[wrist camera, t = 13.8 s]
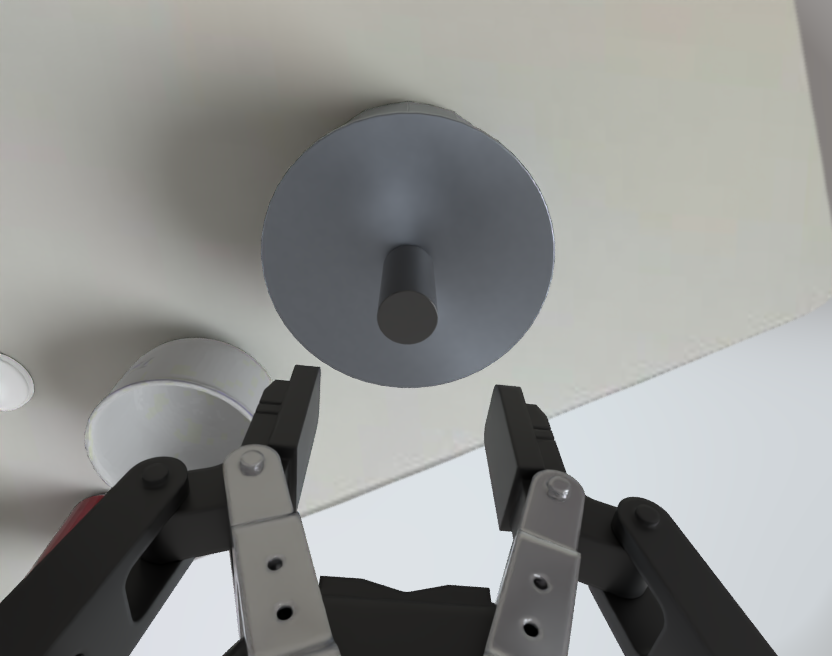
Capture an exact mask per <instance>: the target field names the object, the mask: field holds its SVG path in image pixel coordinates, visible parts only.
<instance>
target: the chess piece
mask: <svg viewBox="0 0 832 656" xmlns="http://www.w3.org/2000/svg"><path fill="white" fill-rule="evenodd" d="M33 393H34V383H33V380H32V378H31V376H30V374H29V373H28V372H27V370H26V369H25V368H24V367H23V366H22V365H21V364H19V363H18V362H17V361H15V360H14V359H12V358H10V357H8V356H6V355H3V354H0V411H10V410H15V409H17V408H19V407H21V406H22V405H24V404H25V403H27V402H28V401H29V400H30V399H31V398H32V396H33Z"/></svg>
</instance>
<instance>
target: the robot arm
mask: <svg viewBox="0 0 832 656" xmlns="http://www.w3.org/2000/svg"><path fill="white" fill-rule="evenodd" d="M320 376H321V369H320V367H313V366H303V365H295V367H294V370H293V373H292V376H291V378H290V381H284V380H275V381H274V382H272V383H271V384H270V385H269V386H268V387H267V388H265V389H264V391H263V394H262V396H261V399H260V401H259V403H258V406H257V408H256V411H255V413H254V415H253V418H252V420H251V423H250V425H249V428H248V430H247V432H246V435H245V437H244V440H243V442H242V444H241V447H239V448H237V449H235V450H233V451H232V452H230V453H229V454H228V455H227V457H226V458H225V460H224V462H223V463H221V464H219V465H216V466H213V467H208V468H201V469H195V470H188V471H187V467H186V465H185V464H184V463H183V462H182V461H181V460H179V459H177V458H174V457H167V456H161V457H154V458H150V459H147V460H144V461H142V462H140V463H138V464H136V465H135V466H133V467H132V468H131V469H130V470H129V471H128V472H127V473H126V474H125V475H124V476H123V477H122V478H121V479H120V480H119V481H118V482H117V483H116V484H115V485H114V486H113V487H112V488H111V489H110V490H109V491H108V492H107V494H106V495H105V496H104V497H103V498H102V499H101V500H100V501H99V502H98V503H97V504H96V505H95V506H94V507H93V508H92V509H91V510H90V511H89V512H88V513H87V514H86V515H85V516H84V517H83V518H82V519H81V520H80V521H79V522H78V523H77V524H76V526H75V527H74V528H73V529H72V530H71V531H70V532H69V533H68V534H67V535H66V536H65V537H64V538H63V539H62V540H61V541H60V542H59V543H58V544H57V545H56V546H55V547H54V548H53V549H52V550H51V551H50V552H49V553H48V554H47V555H46V556H45V557H44V559H43V560H42V561H41V562H40V563H39V564H38V565H37V566H36V567H35V568H34V569H33V570H32V571H31V572H30V573H29V574H28V575H27V576H26V577H25V578H24V579H23V580H22V581H21V582H20V583H19V584H18V585H17V586H16V587H15V588H14V589H13V590H12V592H11V593H10V594H9V595H8V596H7V597H6V598H5V599H4V600H3V601H2V602H1V603H0V656H129V655H130V654H131V652H132V651H133V649H134V648H135V646H136V645H137V643H138V642H139V640H140V639H141V637H142V636H143V634H144V633H145V631H146V630H147V628H148V627H149V625H150V624H151V622H152V621H153V619H154V618H155V616H156V615H157V614H158V612H159V611H160V609H161V608H162V606H163V605H164V603H165V602H166V600H167V599H168V597H169V596H170V594H171V593H172V591H173V590H174V588H175V587H176V585H177V584H178V582H179V581H180V579H181V578H182V576H183V575H184V573H185V572H186V570H187V569H188V567H189V566H190V565H191V563H192V562H193V560H194V558H195V557H199V556H204V555H209V554H214V553H218V552H223V551H227V550H229V553H230V560H231V569H232V577H233V585H234V594H235V602H236V611H237V622H238V631H239V640H238V641H237V643H235V644H234V645H233V646H232V647H231V648H230V649H229V650H228V651H227V652H226V653H225V654H224V655H223V656H568V648H569V641H570V633H571V627H572V619H573V612H574V605H575V597H576V590H577V583H578V581H579V582H582V583H584V584H587V585H588V586H589V589H590V591H591V593H592V595H593V596H594V599H595V601H596V602H597V604H598V606H599V608H600V610H601V612H602V614H603V616H604V617H605V619H606V621H607V623H608V625H609V627H610V629H611V631H612V632H613V634H614V636H615V638H616V640H617V642H618V644H619V646H620V647H621V649H622V651H623V653H624V655H625V656H777V654H776V653H775V652H774V650H773V649H772V648H771V647H770V645H769V644H768V643H767V641H766V640H765V639H764V637H763V636H762V635H761V634H760V632H759V631H758V630H757V628H756V627H755V626H754V624H753V623H752V622H751V621H750V619H749V618H748V617H747V615H745V613H744V611H743V610H742V609H741V608H740V606H739V605H738V604H737V602H736V601H735V600H734V599H733V597H732V596H731V595H730V593H729V592H728V591H727V589H726V588H725V587H724V586H723V584H722V583H721V582H720V580H719V579H718V578H717V576H716V575H715V574H714V573H713V571H712V570H711V569H710V567H709V566H708V565H707V563H706V562H705V561H704V560H703V558H702V557H701V556H700V554H699V553H698V552H697V550H696V549H695V548H694V547H693V545H692V544H691V543H690V542H689V540H688V539H687V537H686V536H685V535H684V534H683V532H682V531H681V530H680V528H679V527H678V526H677V525H676V523H675V522H674V521H673V519H672V518H671V517H670V515H669V514H668V513H667V512H666V511H665V510H664V509H663V508H661V507H660V506H658V505H657V504H655V503H654V502H651V501H649V500H647V499H644V498H640V497H628V498H625V499H623V500H622V501H621V502H620V503H619V505H618V507H614V506H611V505H608V504H605V503H602V502H599V501H597V500H594V499H591V498H590V497H587V496H586V495H585V493H584V490H583V488H582V486H581V485H580V484H579V482H577V480H575V479H574V478H573V477H571V476H570V475H568V474H567V473H566V470H565V468H564V465H563V462H562V459H561V456H560V453H559V451H558V447H557V445H556V442H555V441H554V436H553V433H552V431H551V428H550V425H549V422H548V419H547V416H546V415H545V414H544V413H543V412H542V411H541V410H540V408H539V407H538V406H537V405H534V404H526V403H525V399H524V396H523V393H522V390H521V388H520V387H516V386H506V385H495V387H494V390H493V394H492V398H491V402H490V407H489V411H488V415H487V419H486V424H485V431H484V444H485V450H486V455H487V461H488V467H489V472H490V479H491V484H492V489H493V496H494V501H495V507H496V513H497V519H498V524H499V530H500V531H511V532H512V534H513V543H512V546H511V549H510V553H509V556H508V560H507V563H506V567H505V570H504V574H503V577H502V581H501V584H500V588H499V591H498V595H497V598H496V602H495V603H492V602H491V597H490V589H489V588H484V587H470V586H456V585H446V586H440V587H435V588H429V589H423V590H417V591H411V592H403V591H399V590H396V589H393V588H390V587H387V586H384V585H380V584H377V583H374V582H371V581H368V580H365V579H359V578H345V577H330V576H320V582H319V585H318V581H317V578H316V573H315V570H314V566H313V562H312V559H311V555H310V551H309V547H308V543H307V540H306V536H305V532H304V528H303V525H302V521H301V517H300V515H299V513H298V512H297V508H298V504H299V500H300V496H301V491H302V487H303V483H304V479H305V475H306V471H307V466H308V462H309V458H310V454H311V450H312V446H313V442H314V437H315V433H316V429H317V424H318V416H319V401H320Z"/></svg>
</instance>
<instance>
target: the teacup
mask: <svg viewBox="0 0 832 656" xmlns="http://www.w3.org/2000/svg"><path fill="white" fill-rule="evenodd" d="M271 383H272V380H271V379H270V377H269V375H268V374H267V372H266V371H265V370H264V368H263V367H262V366H261V365H260V364H259V363H258V362H257V361H256V360H255V359H254V358H252V357H251V356H250V355H248V354H247V353H246V352H244V351H242V350H240V349H239V348H237V347H235V346H232V345H230V344H228V343H224V342H221V341H218V340H213V339H206V338H184V339H178V340H174V341H170V342H167V343H164V344H162V345H160V346H158V347H156V348H154V349H152V350H150V351H149V352H147V353H146V354H145V355H143V356H142V357H141V358H140V359H139V360H138V361H136V362H135V363H134V365H133V366H132V367H131V368H130V369H129V370H128V371H127V372H126V373H125V374H124V376H123V377H122V378H121V379H120V380H119V382H118V383H117V384H116V385H115V387H114V388H113V389H112V390H111V392H110V393H109V395H108V396H106V397H105V398H104V399H103V400H102V401H101V402H100V403H99V404H98V405H97V406H96V408H95V409H94V411H93V412H92V414H91V416H90V417H89V419H88V423H87V426H86V430H85V448H86V450H87V454H88V457H89V459H90V461H91V463H92V465H93V468H94V469H95V471H96V472H97V473H98V475H99V476H100V478H101V479H102V480H103V481H104V482H105V483H106V484H107V485H109V486H110V487H111V488H112V487H113V486H114V485H115V484H116V483H117V482H118V481H119V480H120V479H121V478H122V477H123V476H124V475H125V474H126V473H127V472H128V471H129V470H130V469H131V468H132V467H133V466H135V465H136V464H138V463H140V462H142V461H144V460H147V459H150V458H154V457H161V456H167V457H174V458H177V459H179V460H181V461H182V462H183V463H184V464H185V465H186V467H187V471H188V470H195V469H201V468H208V467H213V466H216V465H219V464H221V463H223V462H224V460H225V458H226V457H227V455H228V454H229V453H230V452H232V451H233V450H235V449H237V448H239V447H241V444H242V442H243V440H244V437H245V435H246V432H247V430H248V428H249V425H250V423H251V420H252V418H253V415H254V413H255V411H256V408H257V406H258V403H259V401H260V399H261V396H262V394H263V391H264V389H265V388H267V387H268V386H269V385H270V384H271Z"/></svg>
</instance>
